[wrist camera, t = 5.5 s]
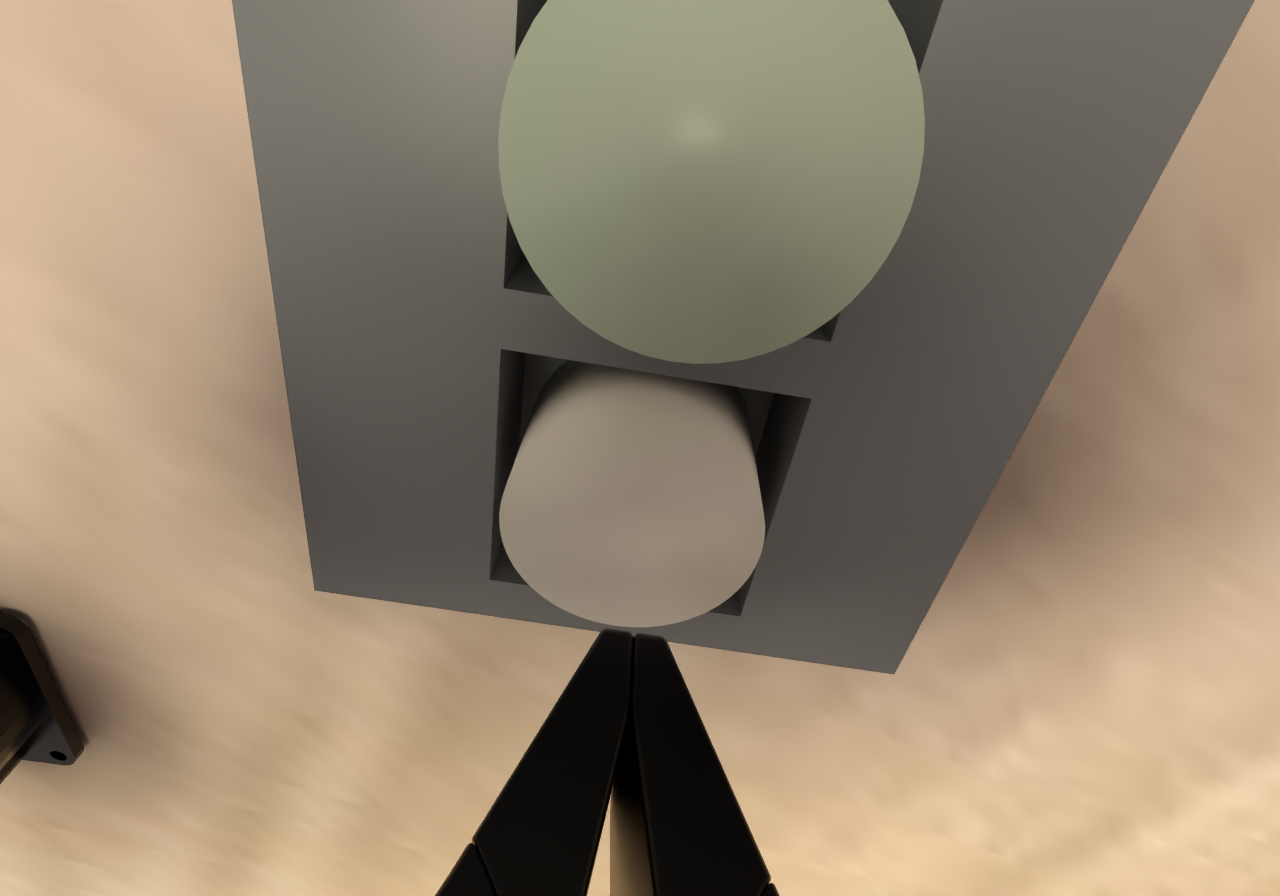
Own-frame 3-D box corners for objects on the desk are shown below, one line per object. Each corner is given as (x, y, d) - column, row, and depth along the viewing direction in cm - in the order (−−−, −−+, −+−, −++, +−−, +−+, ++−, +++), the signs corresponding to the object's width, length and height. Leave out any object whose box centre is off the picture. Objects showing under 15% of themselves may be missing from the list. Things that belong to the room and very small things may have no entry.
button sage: (808, 301, 11) (846, 390, 9) (534, 255, 11) (490, 331, 8) (907, -29, 9) (1000, -41, 6) (560, -96, 9) (509, -135, 6)
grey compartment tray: (862, 574, 17) (893, 674, 15) (370, 500, 17) (314, 590, 14) (1496, -850, 7) (1974, -1347, 4) (250, -1156, 6) (-37, -1923, 4)
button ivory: (723, 537, 15) (731, 642, 13) (525, 507, 15) (494, 608, 13) (774, 358, 13) (797, 444, 10) (539, 319, 13) (505, 398, 10)
